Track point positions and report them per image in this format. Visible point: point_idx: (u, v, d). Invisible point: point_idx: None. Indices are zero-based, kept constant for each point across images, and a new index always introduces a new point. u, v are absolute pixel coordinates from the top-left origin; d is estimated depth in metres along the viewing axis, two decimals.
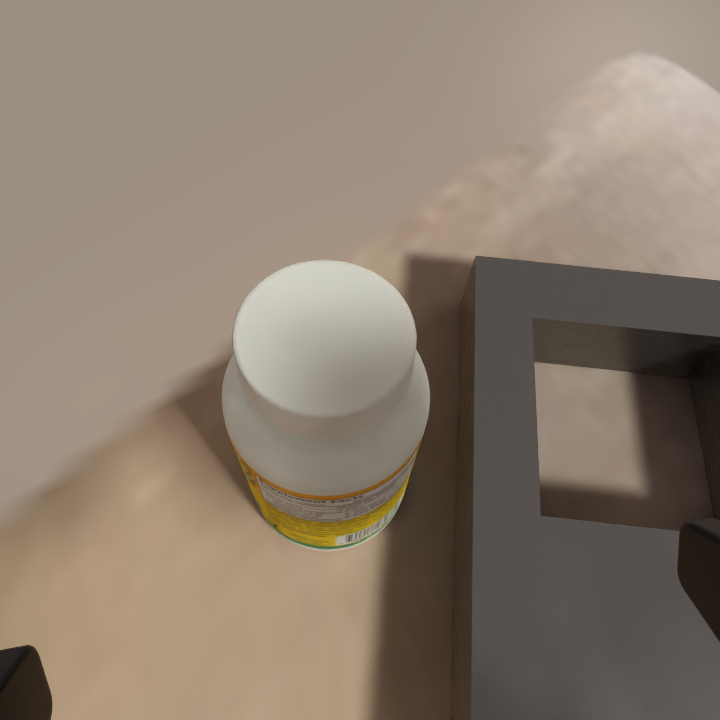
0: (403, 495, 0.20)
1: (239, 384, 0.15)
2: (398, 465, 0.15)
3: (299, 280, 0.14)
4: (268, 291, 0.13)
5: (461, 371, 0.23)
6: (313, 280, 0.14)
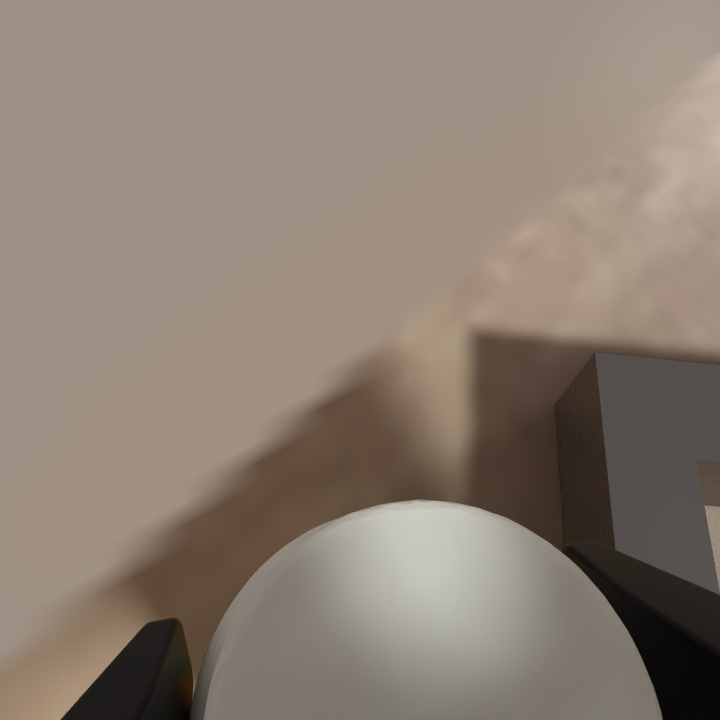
0: None
1: None
2: None
3: (363, 565, 0.06)
4: (291, 602, 0.06)
5: (569, 524, 0.15)
6: (397, 563, 0.06)
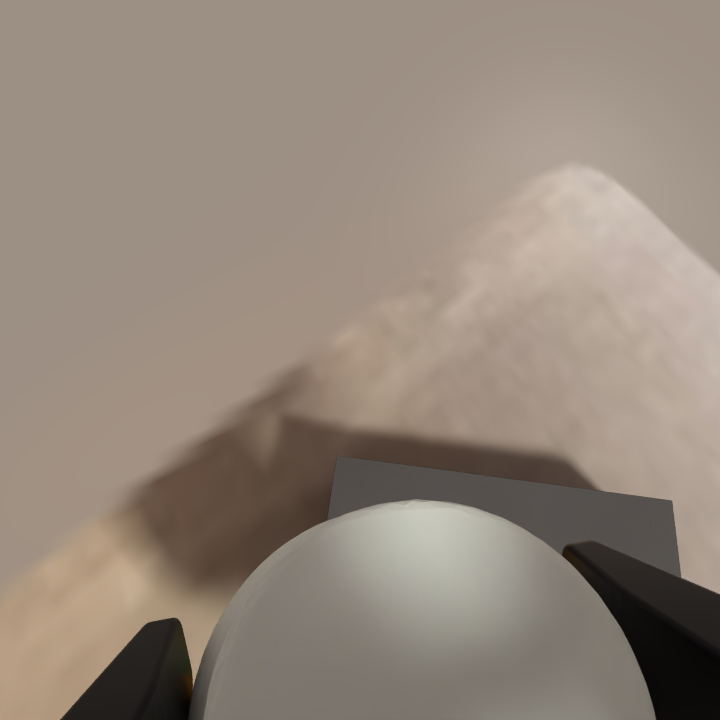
0: None
1: None
2: None
3: (362, 563, 0.06)
4: (290, 600, 0.06)
5: None
6: (395, 563, 0.06)
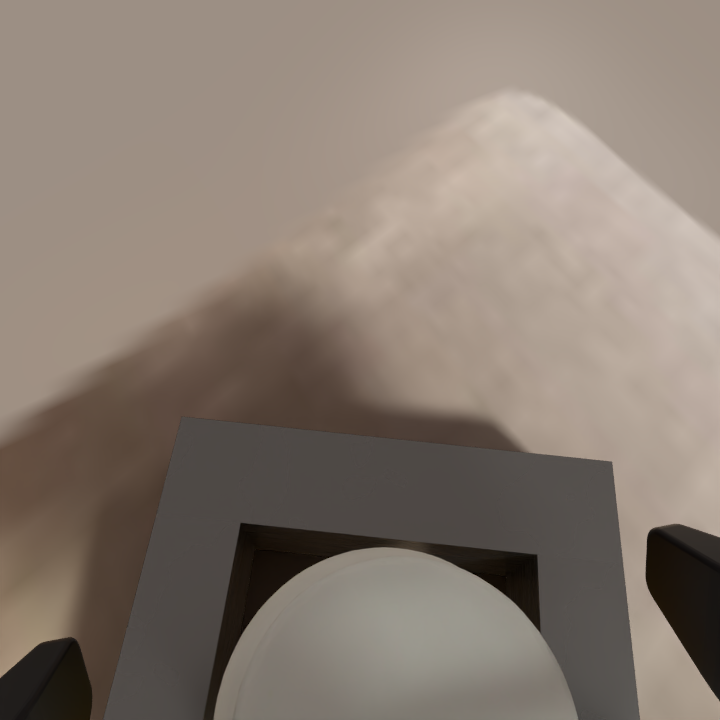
0: None
1: None
2: None
3: (351, 611, 0.07)
4: (295, 641, 0.07)
5: None
6: (378, 609, 0.07)
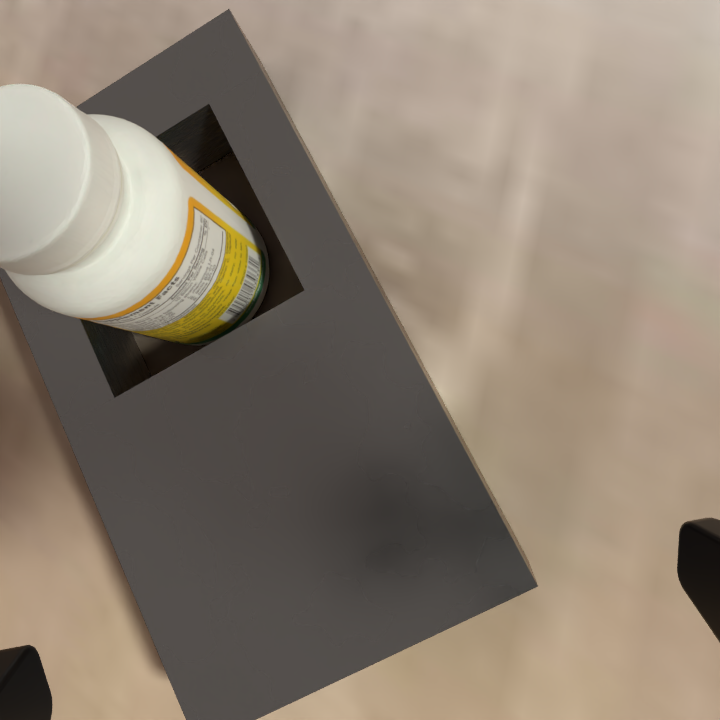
0: (259, 249, 0.20)
1: None
2: (179, 234, 0.15)
3: None
4: None
5: None
6: None
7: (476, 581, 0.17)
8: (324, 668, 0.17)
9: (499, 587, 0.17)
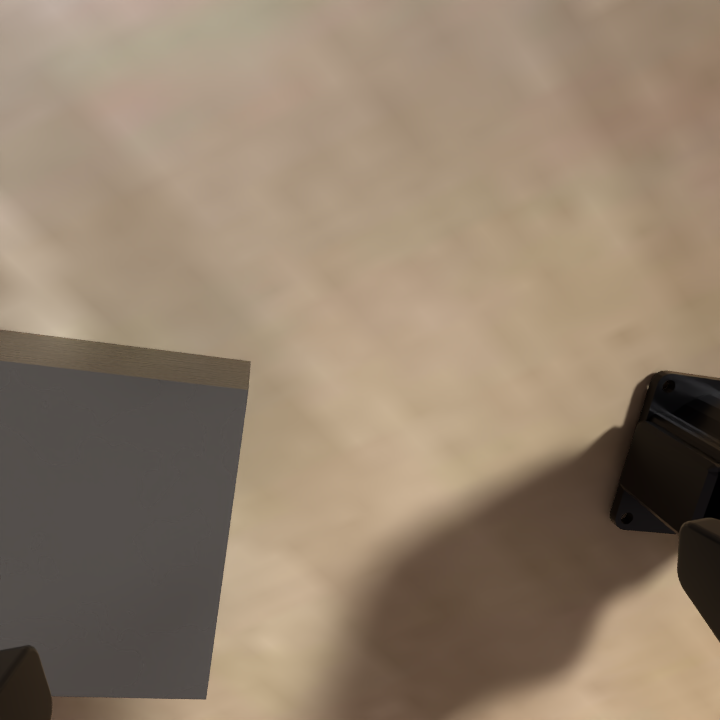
0: None
1: None
2: None
3: None
4: None
5: None
6: None
7: (214, 432, 0.18)
8: (207, 581, 0.19)
9: (230, 418, 0.18)
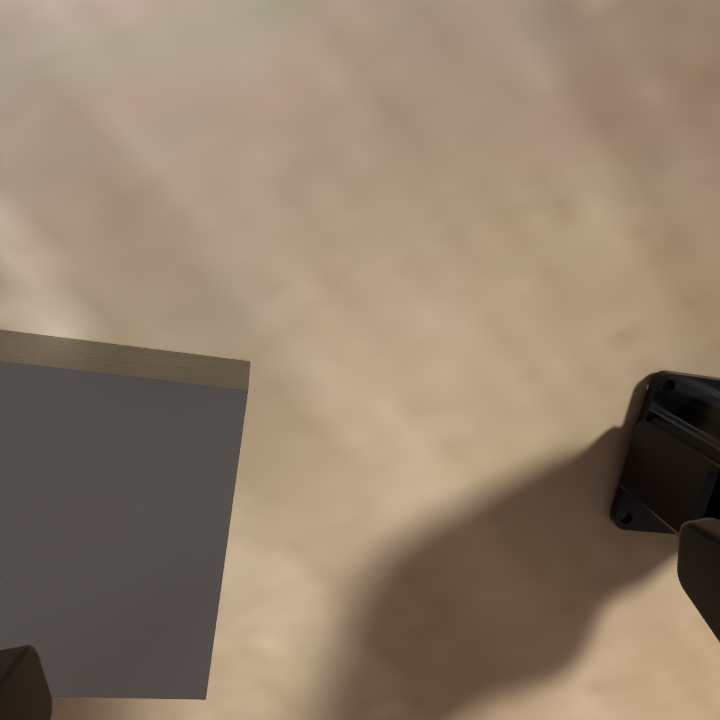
0: None
1: None
2: None
3: None
4: None
5: None
6: None
7: (213, 432, 0.18)
8: (207, 581, 0.19)
9: (230, 418, 0.18)
